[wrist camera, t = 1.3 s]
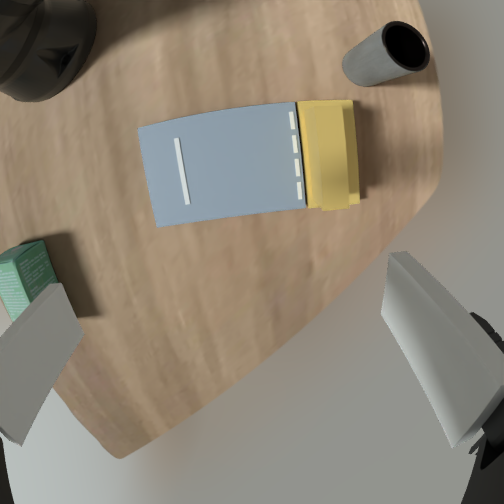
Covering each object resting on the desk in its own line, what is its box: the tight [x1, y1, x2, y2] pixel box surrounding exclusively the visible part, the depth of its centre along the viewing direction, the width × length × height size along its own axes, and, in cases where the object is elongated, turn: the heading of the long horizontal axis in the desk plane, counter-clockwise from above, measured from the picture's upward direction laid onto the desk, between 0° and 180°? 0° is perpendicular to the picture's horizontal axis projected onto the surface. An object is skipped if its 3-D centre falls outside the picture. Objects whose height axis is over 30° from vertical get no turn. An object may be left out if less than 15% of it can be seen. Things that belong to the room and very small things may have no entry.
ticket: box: [138, 102, 306, 228], centre depth 28 cm, size 11×16×1 cm
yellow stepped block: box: [296, 100, 360, 211], centre depth 25 cm, size 11×6×6 cm, turn 7°
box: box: [0, 240, 58, 322], centre depth 31 cm, size 7×14×8 cm, turn 7°
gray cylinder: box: [342, 21, 430, 87], centre depth 19 cm, size 4×4×10 cm
